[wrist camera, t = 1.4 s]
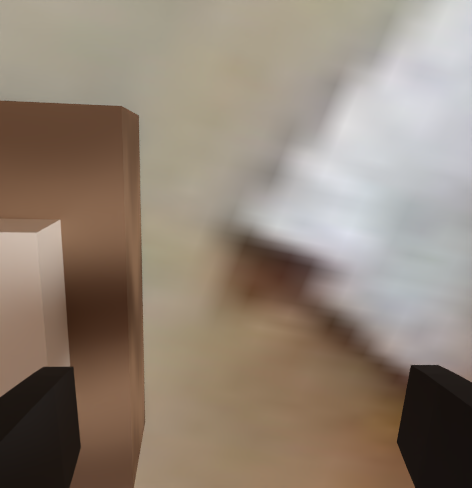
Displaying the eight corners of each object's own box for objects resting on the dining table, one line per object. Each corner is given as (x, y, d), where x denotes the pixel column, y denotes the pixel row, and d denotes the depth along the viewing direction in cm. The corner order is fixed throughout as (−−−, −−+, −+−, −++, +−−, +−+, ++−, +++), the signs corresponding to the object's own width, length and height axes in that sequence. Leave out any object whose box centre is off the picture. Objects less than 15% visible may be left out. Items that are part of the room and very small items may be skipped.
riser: (144, 422, 19) (132, 491, 16) (-57, 429, 18) (-124, 505, 15) (138, 115, 16) (121, 106, 12) (-108, 105, 15) (-211, 91, 11)
